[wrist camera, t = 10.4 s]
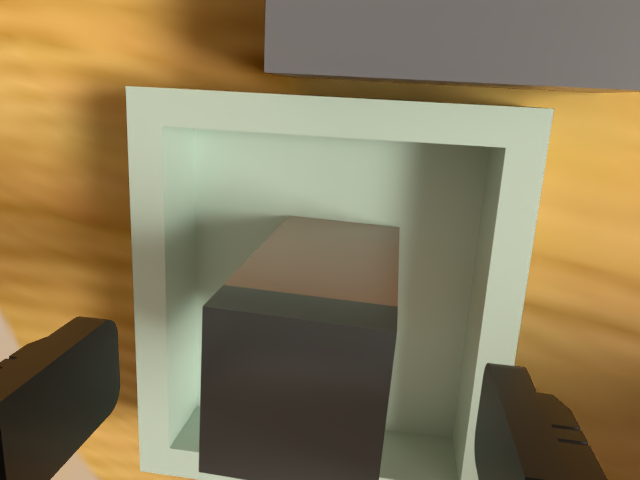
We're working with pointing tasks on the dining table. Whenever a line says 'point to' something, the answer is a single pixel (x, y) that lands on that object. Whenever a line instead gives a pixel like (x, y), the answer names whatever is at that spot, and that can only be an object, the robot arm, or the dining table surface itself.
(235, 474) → the block
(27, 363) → the robot arm
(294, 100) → the parts tray
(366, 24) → the block
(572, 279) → the dining table surface
